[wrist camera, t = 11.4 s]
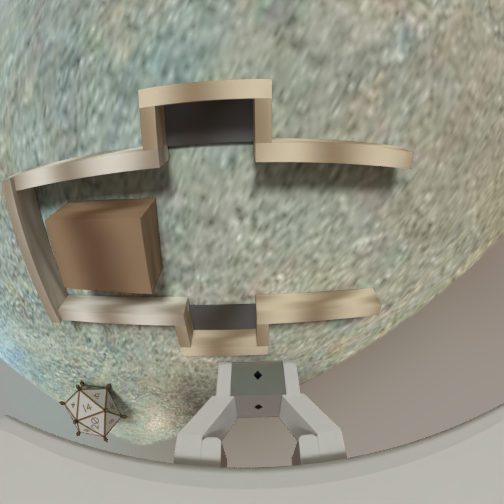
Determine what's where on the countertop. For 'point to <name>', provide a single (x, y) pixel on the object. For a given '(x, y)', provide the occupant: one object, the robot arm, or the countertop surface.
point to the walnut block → (107, 245)
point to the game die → (93, 410)
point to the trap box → (154, 156)
